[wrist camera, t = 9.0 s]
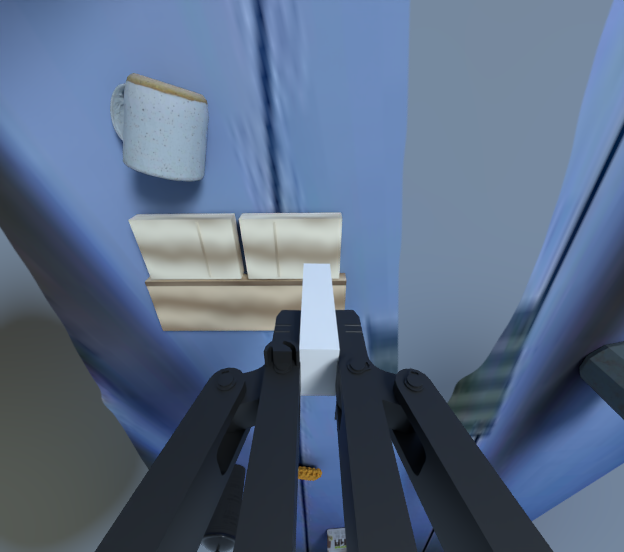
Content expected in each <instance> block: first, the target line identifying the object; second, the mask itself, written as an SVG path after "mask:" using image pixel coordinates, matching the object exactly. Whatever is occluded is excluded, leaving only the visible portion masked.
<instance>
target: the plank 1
mask: <svg viewBox="0 0 624 552" xmlns="http://www.w3.org/2000/svg"><path fill="white" fill-rule="evenodd" d="M129 223H130V225H131V228H132V231H133V233H134V236H135V238H136V241H137V243H138V246H139V248H140V251H141V254H142V256H143V259H144V261H145V264H146V266H147V269H148V272H149V274H150V277H151V279H152V280H153V279H242V276H243V274H244V266H243V260H242V254H241V248H240V242H239V236H238V231H237V225H236V219H235V213H232V214H137V215H135V216H134V217H132V218H131V219H129Z"/></svg>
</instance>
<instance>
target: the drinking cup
mask: <svg viewBox="0 0 624 552" xmlns="http://www.w3.org/2000/svg"><path fill="white" fill-rule="evenodd" d="M244 479H245V468H244V467H243V466H240V465H236V464H235V465H234V468H233V470H232V472H231V474H230V477H229V479H228V481H227V484H226V486H225V488H224V490H223V493H222V495H221V497H220V500H219V502H218V504H217V507H216V509H215V511H214V513H213V516H212V518H211V520H210V523H209V525H208V527H207V530H206V532H205V534H204V536H203V539H202V541H201V545H203V546H204V547H205V548H206V549H207V550H209V551H211V552H228V551H230V550H232V549H234V544H235V538H236V532H237V527H238V521H239V515H240V509H241V504H242V497H243V488H244Z"/></svg>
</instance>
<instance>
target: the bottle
mask: <svg viewBox="0 0 624 552" xmlns="http://www.w3.org/2000/svg"><path fill="white" fill-rule="evenodd" d="M579 368H580V376H581V378H582V379H583V380H584V381H585V382H586V383H587V384H588V385H589V386H590V387H591V388H592V389H593V390H594V391H595V392H596V393H597V394H598V395H599V396H600V397H601V398H602V399H603V400H604V401H605V402H606V403H607V404H608V405H609V406H610V407H611V408H612V409H613V410H614V411H615V412H616V413H617V414H618V415H619V416H621V417H622V418H623V419H624V341H623V342H618V343H613V344H609V345H604V346H602V347H601V348H599V349H597V350H596V351H594V352H592V353H591V354H589V355H587V357H586V358H585V360H584V361H583V363H582V364H581V366H580V367H579Z"/></svg>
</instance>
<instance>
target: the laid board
mask: <svg viewBox="0 0 624 552" xmlns="http://www.w3.org/2000/svg"><path fill="white" fill-rule="evenodd" d="M145 284H146V286H147V288H148V290H149V293H150V296H151V299H152V301H153V304H154V307H155V310H156V312H157V315H158V318H159V321H160V323H161V326H162V329H163V331H269V330H274V328H275V322H276V317H277V315H278V314H279V313H280V312H281V310H301V306H302V286H303V279H248V274H243V276H242V279H153V280H152V279H151V277H149V278H148V279H147V280H146V281H145ZM332 287H333V296H334V304H335V310H344V309H345V292H346V277H345V273H339V279H332Z"/></svg>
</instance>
